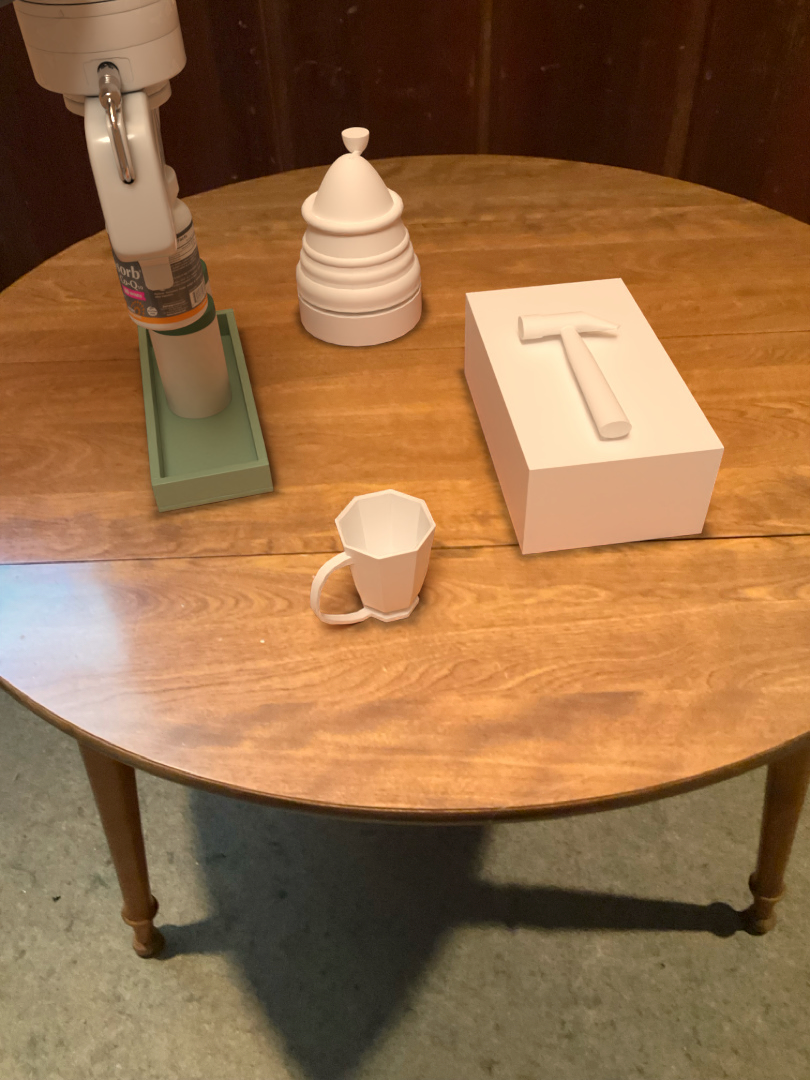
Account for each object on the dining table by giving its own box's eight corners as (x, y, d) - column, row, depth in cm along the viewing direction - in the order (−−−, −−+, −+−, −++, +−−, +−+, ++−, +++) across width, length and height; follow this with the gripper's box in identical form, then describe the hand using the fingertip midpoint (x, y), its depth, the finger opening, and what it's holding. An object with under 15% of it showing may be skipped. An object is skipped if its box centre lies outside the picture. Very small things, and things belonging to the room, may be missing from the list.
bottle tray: (273, 491, 78) (269, 464, 76) (159, 512, 77) (151, 485, 75) (237, 333, 96) (232, 307, 94) (143, 348, 94) (136, 322, 92)
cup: (456, 604, 69) (457, 525, 63) (347, 674, 64) (338, 596, 59) (397, 552, 73) (393, 474, 67) (291, 615, 68) (277, 537, 63)
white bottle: (170, 424, 84) (145, 328, 77) (165, 387, 89) (142, 293, 82) (235, 412, 85) (217, 317, 78) (228, 376, 90) (210, 283, 83)
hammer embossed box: (609, 357, 91) (624, 254, 83) (701, 533, 73) (731, 422, 65) (464, 372, 90) (466, 269, 82) (522, 554, 72) (531, 444, 64)
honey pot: (324, 276, 104) (307, 110, 91) (435, 289, 101) (433, 120, 88) (282, 337, 95) (257, 162, 83) (402, 353, 92) (395, 175, 80)
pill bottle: (116, 311, 67) (77, 175, 60) (185, 283, 69) (156, 150, 62) (153, 343, 63) (117, 203, 56) (225, 313, 66) (199, 176, 59)
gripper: (171, 93, 47) (218, 330, 57) (151, -13, 61) (191, 191, 71) (43, 109, 46) (114, 347, 56) (53, -3, 60) (108, 202, 70)
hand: (157, 258), depth 63 cm, fingers closed on pill bottle, 6 cm apart
